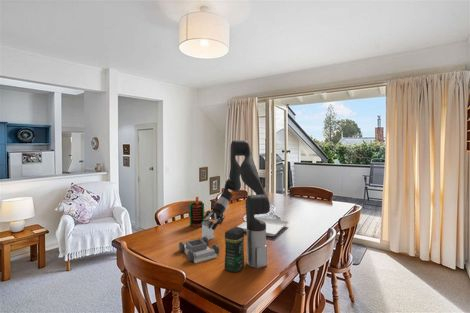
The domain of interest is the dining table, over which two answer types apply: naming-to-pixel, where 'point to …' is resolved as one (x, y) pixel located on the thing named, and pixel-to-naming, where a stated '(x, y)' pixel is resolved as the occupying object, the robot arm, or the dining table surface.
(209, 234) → the grey-topped square pillar
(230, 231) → the coffee jar
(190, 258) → the car chassis
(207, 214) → the robot arm
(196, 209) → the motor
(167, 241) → the dining table surface
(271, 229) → the square plate
